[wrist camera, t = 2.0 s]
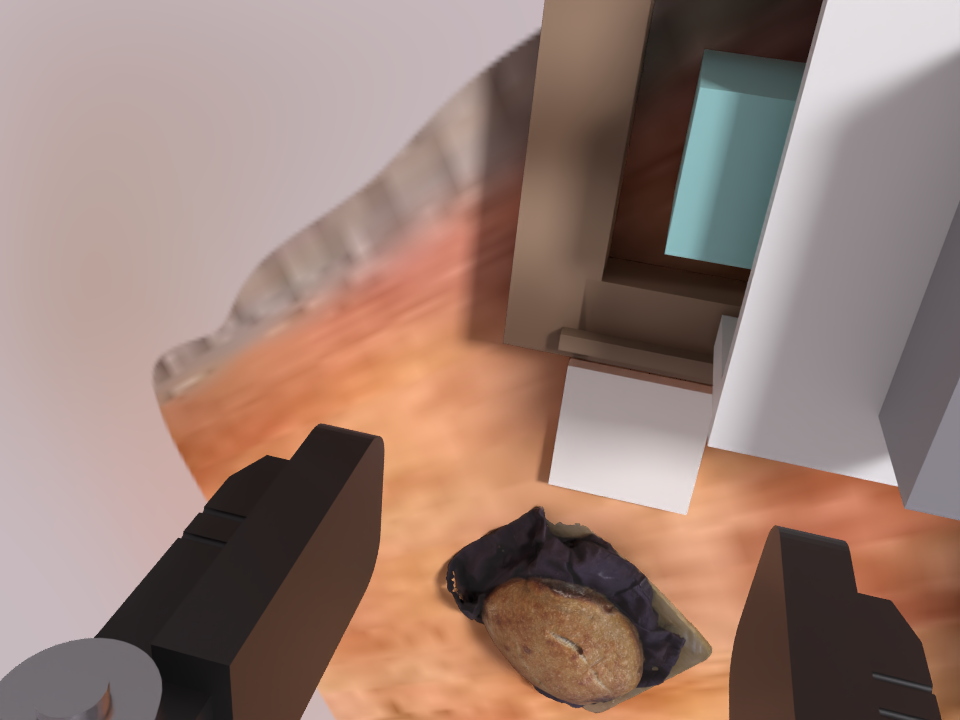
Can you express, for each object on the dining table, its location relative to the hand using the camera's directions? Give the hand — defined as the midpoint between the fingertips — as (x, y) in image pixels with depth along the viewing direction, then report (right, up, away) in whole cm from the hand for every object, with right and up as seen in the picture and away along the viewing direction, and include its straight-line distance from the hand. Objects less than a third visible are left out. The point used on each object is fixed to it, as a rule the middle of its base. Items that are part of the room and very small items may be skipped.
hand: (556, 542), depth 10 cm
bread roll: (+3, -9, +30) cm, 31 cm away
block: (+8, +9, +18) cm, 22 cm away
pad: (+5, -1, +24) cm, 24 cm away
